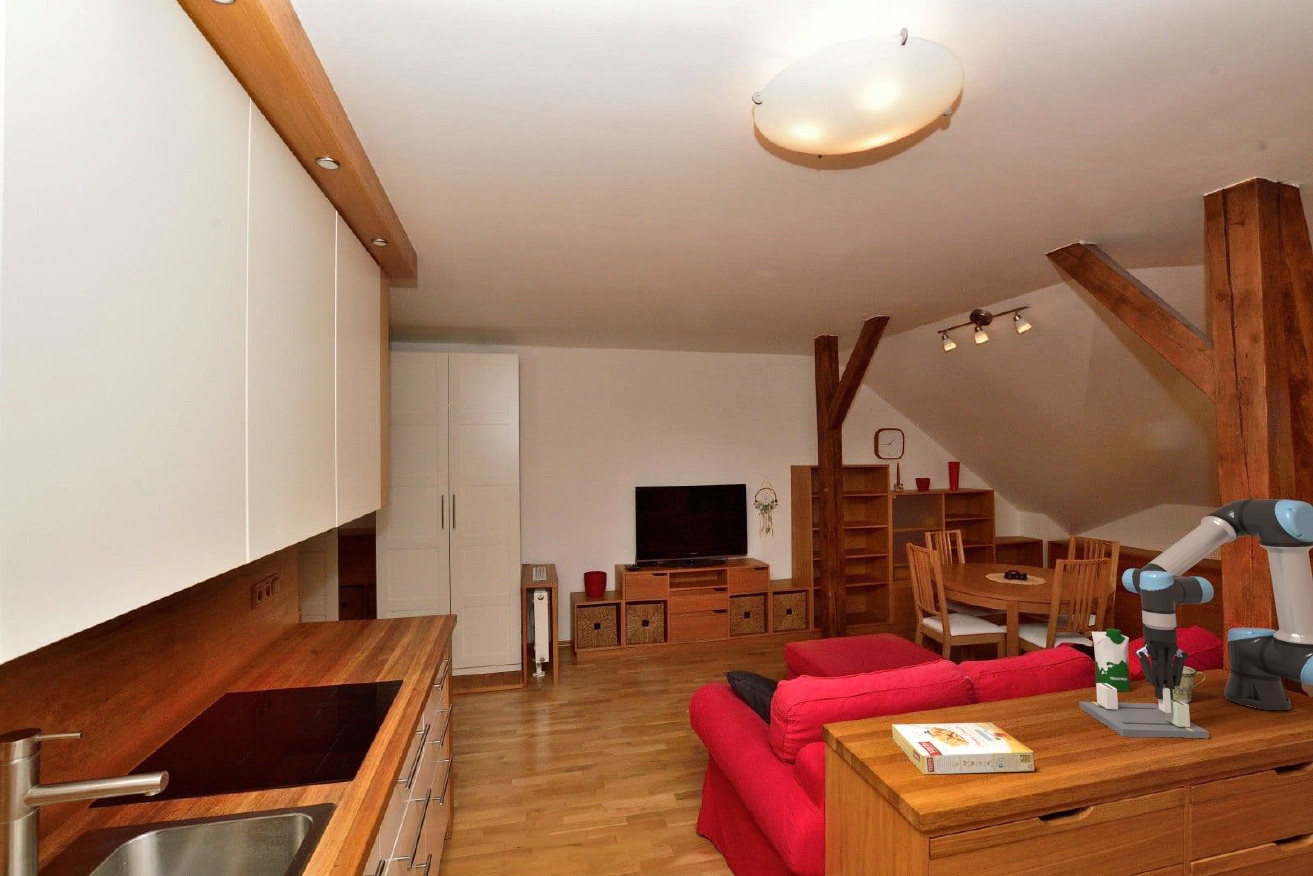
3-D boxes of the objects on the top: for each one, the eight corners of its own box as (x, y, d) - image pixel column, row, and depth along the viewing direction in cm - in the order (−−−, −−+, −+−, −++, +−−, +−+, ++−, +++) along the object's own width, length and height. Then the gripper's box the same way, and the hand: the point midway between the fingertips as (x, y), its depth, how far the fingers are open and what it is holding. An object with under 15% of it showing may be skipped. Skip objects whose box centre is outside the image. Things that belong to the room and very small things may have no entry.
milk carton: (1107, 692, 205) (1103, 631, 206) (1090, 683, 214) (1087, 625, 215) (1135, 693, 204) (1131, 631, 205) (1117, 683, 213) (1114, 625, 214)
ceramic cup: (1166, 703, 194) (1164, 671, 195) (1150, 692, 204) (1149, 662, 205) (1216, 707, 191) (1213, 674, 191) (1198, 696, 200) (1196, 665, 201)
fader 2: (1177, 719, 176) (1175, 697, 176) (1190, 727, 171) (1188, 704, 171) (1165, 719, 176) (1164, 697, 177) (1178, 726, 171) (1177, 704, 172)
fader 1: (1107, 703, 189) (1106, 682, 190) (1118, 709, 184) (1116, 688, 185) (1097, 703, 190) (1096, 682, 190) (1107, 709, 185) (1106, 688, 185)
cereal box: (1035, 750, 152) (922, 753, 151) (1036, 774, 151) (923, 776, 151) (989, 719, 172) (890, 722, 171) (990, 740, 172) (890, 742, 171)
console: (1155, 710, 189) (1155, 703, 190) (1209, 739, 169) (1208, 731, 169) (1079, 708, 192) (1079, 701, 192) (1122, 736, 171) (1122, 729, 171)
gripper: (1174, 623, 179) (1180, 706, 177) (1126, 623, 180) (1131, 705, 179) (1194, 630, 171) (1200, 716, 170) (1143, 629, 173) (1149, 715, 171)
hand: (1165, 710), depth 174 cm, fingers closed
